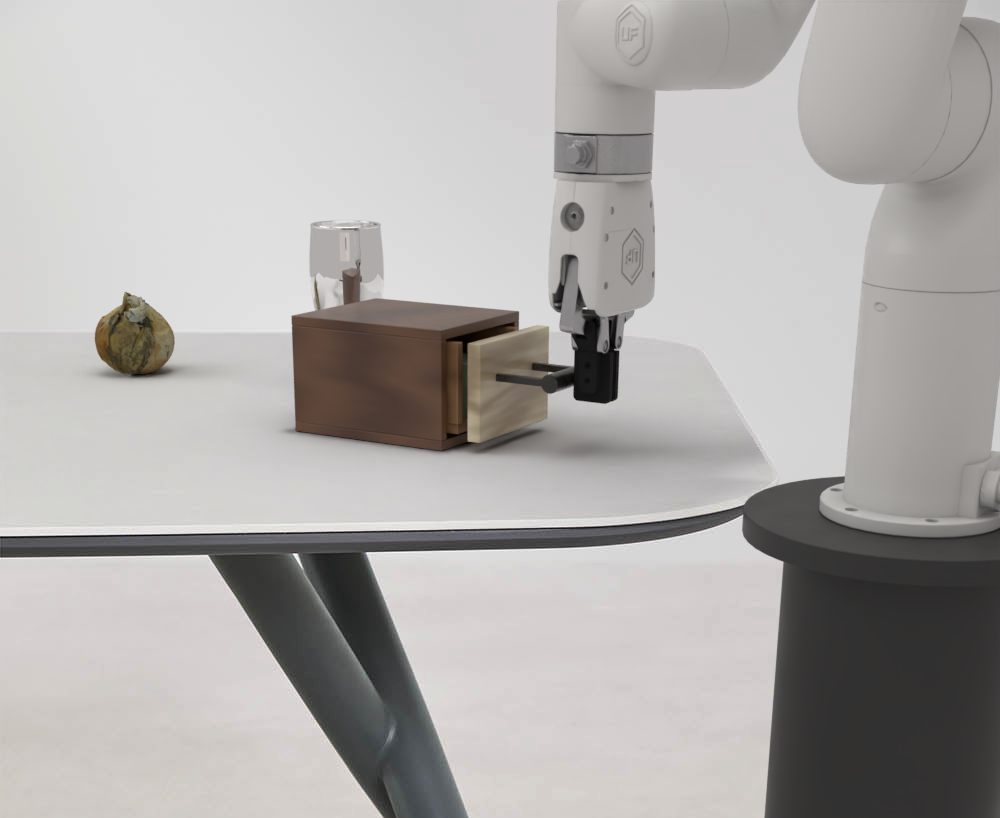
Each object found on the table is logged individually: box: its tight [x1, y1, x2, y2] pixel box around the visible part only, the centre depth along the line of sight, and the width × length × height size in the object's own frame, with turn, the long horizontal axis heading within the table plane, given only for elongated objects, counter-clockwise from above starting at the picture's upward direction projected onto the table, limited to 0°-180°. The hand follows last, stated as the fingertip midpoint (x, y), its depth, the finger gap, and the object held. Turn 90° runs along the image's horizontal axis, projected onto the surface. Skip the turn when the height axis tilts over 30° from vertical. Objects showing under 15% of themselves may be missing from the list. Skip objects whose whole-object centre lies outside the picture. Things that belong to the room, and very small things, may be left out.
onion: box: [94, 291, 176, 376], centre depth 169 cm, size 8×8×8 cm
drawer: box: [445, 324, 574, 444], centre depth 142 cm, size 19×11×8 cm, turn 60°
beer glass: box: [308, 219, 385, 311], centre depth 161 cm, size 7×7×15 cm
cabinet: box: [291, 298, 520, 452], centre depth 145 cm, size 15×13×10 cm
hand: (595, 400), depth 137 cm, fingers closed
